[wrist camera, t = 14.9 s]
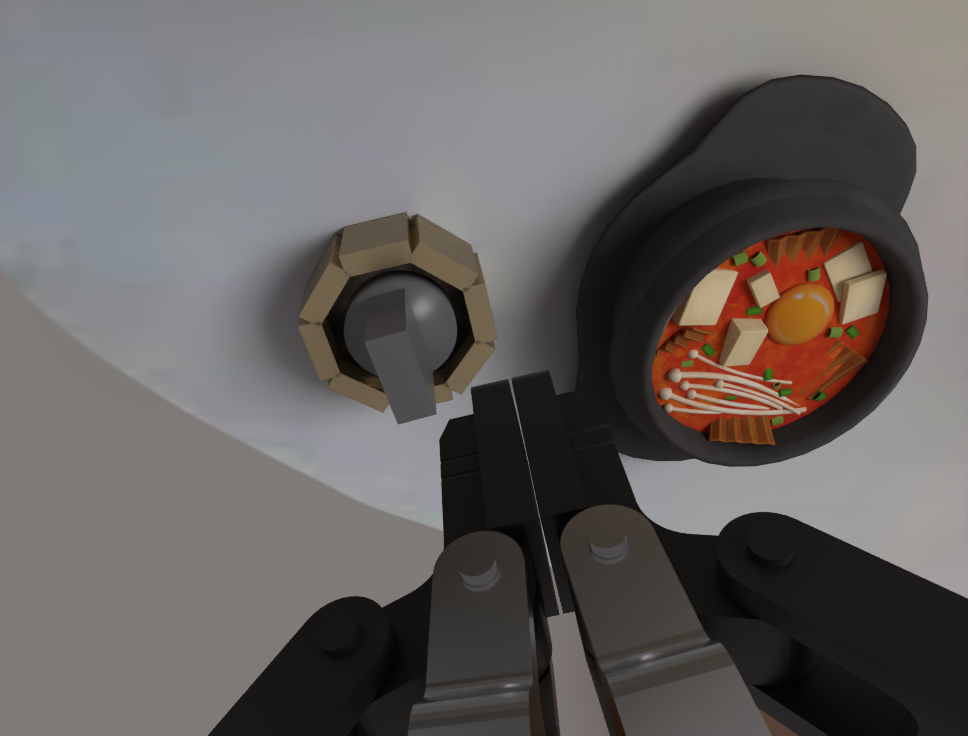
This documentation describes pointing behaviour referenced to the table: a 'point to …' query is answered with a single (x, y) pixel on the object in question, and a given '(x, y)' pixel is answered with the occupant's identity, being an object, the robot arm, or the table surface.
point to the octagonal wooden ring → (387, 250)
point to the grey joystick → (402, 337)
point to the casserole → (759, 282)
